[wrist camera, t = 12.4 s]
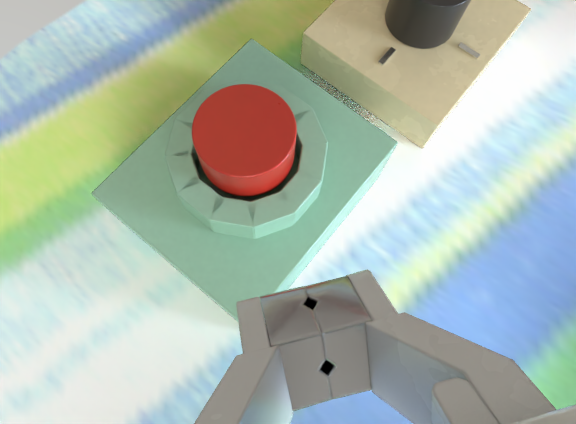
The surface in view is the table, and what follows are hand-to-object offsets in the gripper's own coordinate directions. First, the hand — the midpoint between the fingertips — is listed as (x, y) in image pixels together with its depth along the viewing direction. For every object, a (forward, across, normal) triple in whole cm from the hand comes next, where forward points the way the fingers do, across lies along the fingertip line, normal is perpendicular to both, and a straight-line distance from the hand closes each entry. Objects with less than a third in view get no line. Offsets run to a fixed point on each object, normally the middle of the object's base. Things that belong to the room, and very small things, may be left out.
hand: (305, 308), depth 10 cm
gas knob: (+21, -13, -3) cm, 24 cm away
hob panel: (+23, -13, -1) cm, 26 cm away
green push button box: (+17, 0, +5) cm, 18 cm away
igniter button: (+12, 0, 0) cm, 12 cm away
